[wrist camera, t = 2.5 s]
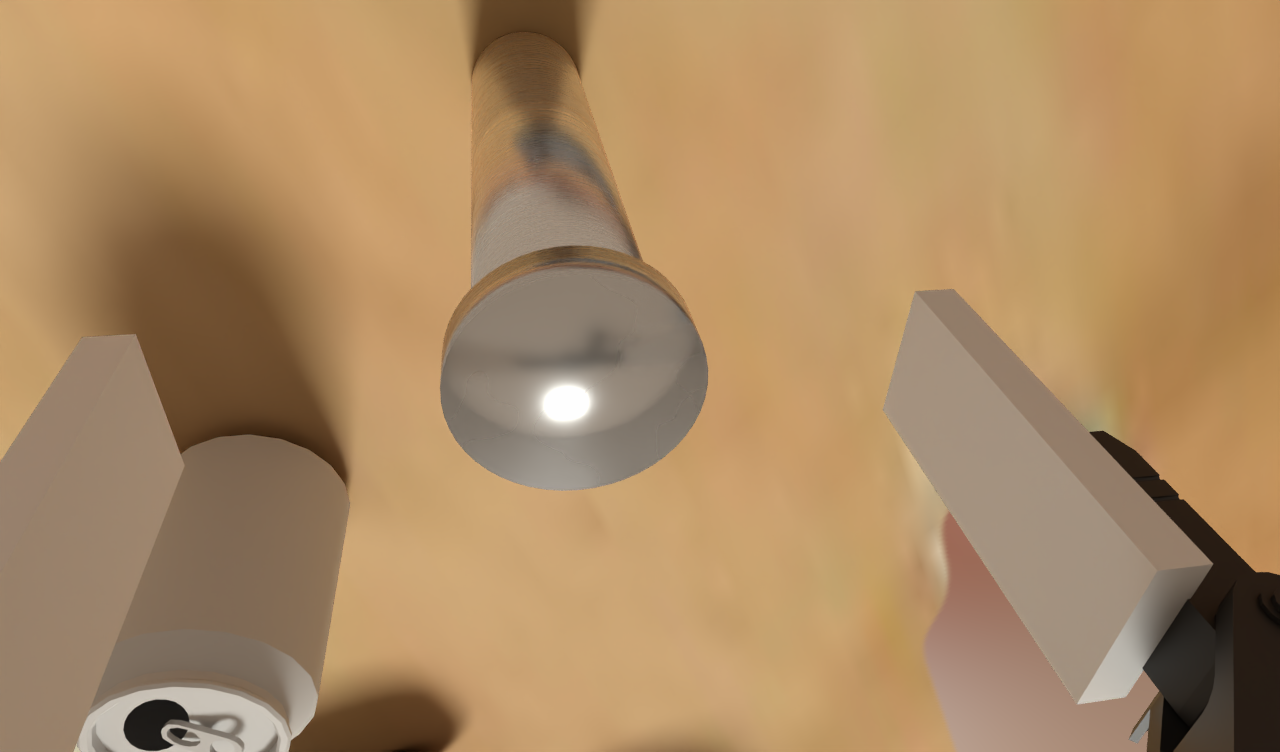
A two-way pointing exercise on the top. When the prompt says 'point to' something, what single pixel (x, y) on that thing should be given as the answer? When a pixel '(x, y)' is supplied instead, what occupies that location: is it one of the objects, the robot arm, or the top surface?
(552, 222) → the steel pin
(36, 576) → the robot arm
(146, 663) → the can
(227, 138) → the top surface
